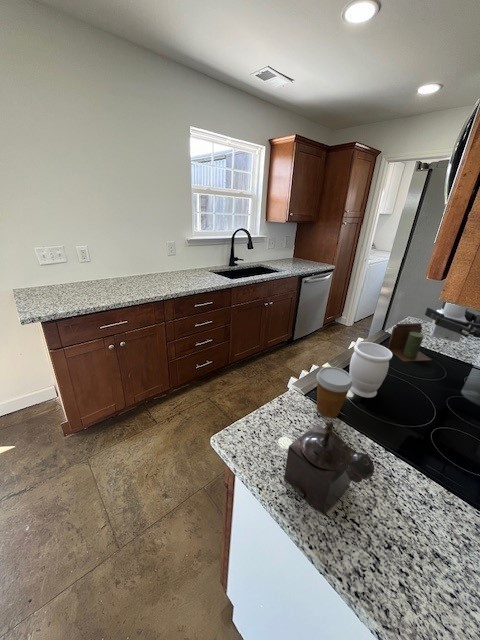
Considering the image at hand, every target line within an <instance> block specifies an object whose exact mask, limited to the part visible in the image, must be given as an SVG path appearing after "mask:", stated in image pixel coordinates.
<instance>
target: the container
mask: <svg viewBox="0 0 480 640" xmlns="http://www.w3.org/2000/svg"><path fill="white" fill-rule="evenodd" d="M468 309H469V307H468V308H466V307H461V306H458V305H455V304H451V303H447V302H444V301H443V303H442V305H441V309H436V311H437V312H439V313H441V314H444V315H445V317H448V318H452V319H455V320H459V321H463V322H468V321H467V320H466V318H465V313H466V311H468ZM429 330H430V336H431V337H432V338H435V339H441V340H446V341H450V342H455V343H460V341H461V339H462V337H463V335H461V334H459V333H456V332H454V331H451V330H448V329H446V328H443V327H440V326H438V325H435V320H433V319H432V322H431V326H430V329H429Z"/></svg>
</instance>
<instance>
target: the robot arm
mask: <svg viewBox="0 0 480 640" xmlns="http://www.w3.org/2000/svg"><path fill="white" fill-rule="evenodd" d="M475 311H476V312H478V313H480V311H478V310H475ZM424 316H426V317H428V318H430V319H432V321H433V320H435V325H438V326H440V327H443V328H446V329H448V330H451V331H454V332H456V333H459V334H461V335H462V337H464V338H469V337H470V336H473V337H474V338H478V339H480V315H479V314H475V313H473V312H470V311H468V310H467V311H466V313H465V318H466V320H467V322H463V321H459V320H455V319H452V318H448V317H445V315H444V314H441V313H439V312H437V310H434V309H432V308H430V307H427V308H426V310H425V312H424Z"/></svg>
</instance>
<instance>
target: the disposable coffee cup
mask: <svg viewBox="0 0 480 640" xmlns="http://www.w3.org/2000/svg"><path fill="white" fill-rule="evenodd" d="M316 380H317V388H316V393H317V394H316V395H317V396H316V410H317V412H318V413H319V414H320V415H322V416H324V417H326V418H336V417H338V416H339V414H340V412H341V411H342V408H343V405H344V403H345V400H346V398H347V396H348V393H349V391H350V388H351V387H352V385H353V382H352V378H351V376H350V374H349V373H348V371H346V370H344V369H343V368H340V367H336V366H324V367H322V368H320V369H319V371H318V372H317V373H316Z"/></svg>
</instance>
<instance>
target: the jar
mask: <svg viewBox="0 0 480 640" xmlns="http://www.w3.org/2000/svg"><path fill="white" fill-rule="evenodd" d="M392 358H393V352H391V351H390V350H389V349H388V348H387V347H385V346H384V345H381V344H378V343H375V342H371V341H360V342H357V343H354V346H353V353H352V355H351V358H350V361H349V374H350V376H351V378H352V382H353V385H352V387H351V388H350V389H349V391H350V392H352V393H353V394H355V395H357V396H359V397H362V398H367V399H369V398H374V397H376V396H377V394H378V390H379V389H380V387H381V386H382V385H383V382H384V381H385V379H386V376H387V375H388V372H389V367H390V360H392Z"/></svg>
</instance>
